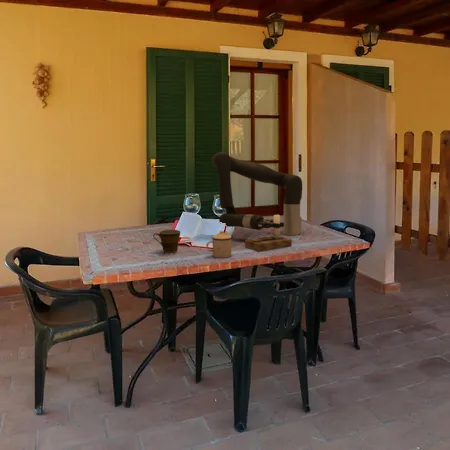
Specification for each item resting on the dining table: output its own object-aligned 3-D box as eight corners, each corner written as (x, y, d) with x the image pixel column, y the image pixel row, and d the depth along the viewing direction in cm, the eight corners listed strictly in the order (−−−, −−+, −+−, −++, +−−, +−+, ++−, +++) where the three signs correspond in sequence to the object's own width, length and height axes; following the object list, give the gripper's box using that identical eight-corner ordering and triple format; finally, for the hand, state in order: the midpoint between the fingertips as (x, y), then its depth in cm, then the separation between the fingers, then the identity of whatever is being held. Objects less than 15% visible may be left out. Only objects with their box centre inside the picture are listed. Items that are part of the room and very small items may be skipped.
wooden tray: (276, 241, 242) (276, 235, 241) (291, 246, 232) (291, 239, 231) (245, 246, 232) (245, 239, 231) (259, 251, 222) (259, 244, 221)
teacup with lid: (228, 252, 221) (228, 228, 219) (234, 257, 212) (234, 232, 210) (204, 254, 217) (203, 230, 215) (209, 259, 209) (208, 234, 207)
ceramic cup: (181, 249, 228) (180, 229, 226) (180, 254, 218) (179, 233, 216) (155, 249, 227) (154, 229, 226) (152, 255, 218) (151, 234, 216)
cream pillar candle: (277, 241, 237) (277, 214, 234) (282, 242, 234) (282, 215, 231) (271, 242, 235) (271, 215, 232) (275, 243, 232) (276, 216, 229)
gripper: (245, 216, 235) (274, 220, 225) (260, 213, 246) (289, 216, 236) (245, 231, 237) (274, 235, 226) (260, 226, 247) (288, 230, 237)
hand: (281, 225), depth 231 cm, fingers closed on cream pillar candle, 3 cm apart
